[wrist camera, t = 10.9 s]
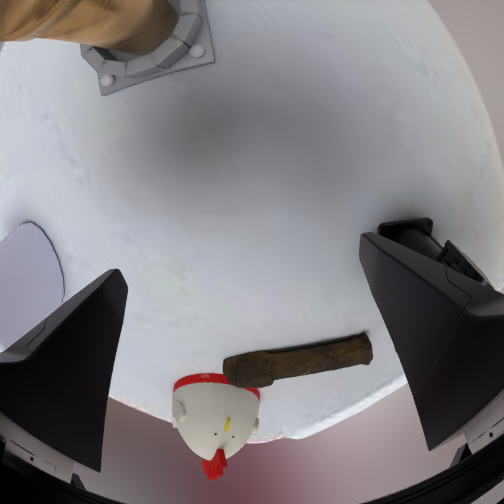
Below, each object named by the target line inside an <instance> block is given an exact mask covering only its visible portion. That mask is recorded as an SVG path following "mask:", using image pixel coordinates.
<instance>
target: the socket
mask: <svg viewBox="0 0 504 504" xmlns="http://www.w3.org/2000/svg"><path fill="white" fill-rule="evenodd" d="M168 1H169V3H170V4H171V5H172V6H173V7H174V8H175V10H176V12H177V15H178V23H177V25H176V27H175V29H174V31H173V34H172V36H171V37H170V38H168V39H167V40H166V41H165V42H164V43H163V44H161V45H160V46H159V47H158V48H157V49H156V50H155V51H154V52H153V53H150V54H147V55H140V56H136V55H130V54H126V53H122V52H118V51H114V50H110V49H106V48H101V47H97V46H92V45H87V44H81V43H80V49H81V56H82V57H83V58H84V59H85V60H86V61H87V62H88V63H89V64H90V65H91V66H92V67H93V68H94V69H95V71H96V72H97V75H98V80H99V86H100V91H101V96H106V95H108V94H111V93H113V92H116V91H118V90H121V89H123V88H126V87H129V86H132V85H134V84H137V83H140V82H143V81H146V80H149V79H152V78H155V77H159V76H162V75H165V74H169V73H172V72H176V71H180V70H184V69H188V68H192V67H196V66H201V65H205V64H210V63H215V59H214V53H213V47H212V42H211V36H210V31H209V25H208V19H207V14H206V8H205V2H204V0H168Z"/></svg>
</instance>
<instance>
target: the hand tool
mask: <svg viewBox="0 0 504 504" xmlns="http://www.w3.org/2000/svg"><path fill="white" fill-rule="evenodd" d="M372 350H373V349H372V345H371V342H370V340H369V338H368V337H367V335H366V334H363V335H362V336H361V337H360V338H357V337H354V336H353V337H352V339H351V340H348V341H344V342H339V343H334V344H330V345H324V346H319V347H312V348H307V349H300V350H296V351H289V352H283V353H273V354H269V352H268V351H265V350H261V351H255V352H250V353H247V354H243V355H239V356H236V357H232V358H229V359H226V360H224V361H223V373H224V375H225V376H226V379H227V381H228V382H229V383H230V384H231V385H234V386H235V387H237V388H249V387H250V388H255V387H257V388H262V387H266V386H270V385H272V384H273V382H274V380H278V379H283V378H290V377H296V376H303V375H308V374H314V373H319V372H324V371H329V370H337V369H341V368H345V367H351V366H355V365H359V364H364V365H369V364H370V362H371V360H372V359H373V353H372Z"/></svg>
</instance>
